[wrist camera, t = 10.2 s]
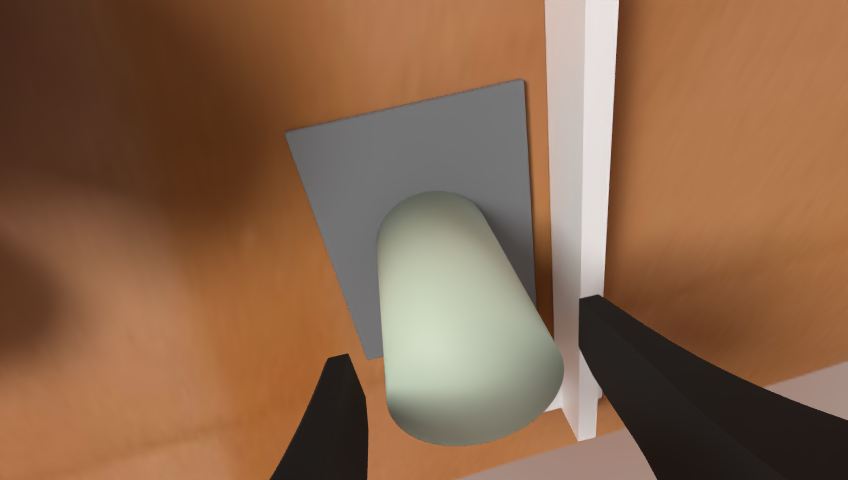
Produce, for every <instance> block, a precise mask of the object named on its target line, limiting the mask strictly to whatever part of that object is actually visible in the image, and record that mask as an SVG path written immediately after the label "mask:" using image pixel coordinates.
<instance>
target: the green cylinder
mask: <svg viewBox="0 0 848 480" xmlns="http://www.w3.org/2000/svg"><path fill="white" fill-rule="evenodd" d="M376 250H377V265H378V280H379V295H380V310H381V324H382V339H383V354H384V369H385V384H386V399H387V406H388V410H389V412H390V414H391V417H392V418H393V420H394V421H395V422H396V424H397V425H398V426H399V427H400V428H401V429H402V430H403V431H405V432H406V433H408V434H409V435H411V436H413V437H415V438H417V439H419V440H422V441H424V442H428V443H432V444H436V445H443V446H469V445H477V444H482V443H487V442H490V441H494V440H497V439H500V438H503V437H505V436H508V435H510V434H512V433H514V432H516V431H518V430H520V429H522V428H523V427H525V426H527V425H528V424H530V423H531V422H533V421H534V420H535V419H536V418H538V417H539V416H540V415H541V414H542V413H543V412H544V411H545V410H546V409H547V408H548V407H549V406H550V404H551V403H552V402H553V400H554V399H555V397H556V396H557V394H558V392H559V390H560V387H561V385H562V381H563V377H564V362H563V358H562V355H561V353H560V351H559V349H558V347H557V345H556V344H555V342H554V340H553V338H552V337H551V335H550V333H549V331H548V329H547V328H546V326H545V324H544V322H543V321H542V319H541V317H540V315H539V313H538V312H537V310H536V308H535V306H534V305H533V303H532V301H531V299H530V297H529V296H528V294H527V292H526V290H525V289H524V287H523V285H522V283H521V282H520V280H519V278H518V276H517V274H516V273H515V271H514V269H513V267H512V266H511V264H510V262H509V260H508V258H507V257H506V255H505V253H504V251H503V250H502V248H501V246H500V244H499V242H498V241H497V239H496V237H495V235H494V234H493V232H492V230H491V228H490V226H489V225H488V223H487V221H486V219H485V218H484V216H483V214H482V212H481V211H480V210H479V209H478V207H477V206H476V205H475V204H474V203H472V202H471V201H470V200H468V199H467V198H465V197H463V196H461V195H458V194H455V193H451V192H446V191H429V192H423V193H419V194H416V195H413V196H411V197H409V198H407V199H405V200H403V201H401V202H400V203H399V204H397V205H396V206H395V207H394V208H393V209H392V210H391V211H390V212H389V213H388V214H387V215H386V217H385V218H384V220H383V221H382V223H381V225H380V228H379V230H378V234H377V240H376Z"/></svg>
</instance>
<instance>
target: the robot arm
mask: <svg viewBox="0 0 848 480" xmlns="http://www.w3.org/2000/svg"><path fill="white" fill-rule="evenodd" d="M578 347H579V349H580V351H581V353H582V355H583V357H584V359H585V361H586V363H587V365H588V367H589V369H590V371H591V373H592V375H593V377H594V378H595V380H596V381H597V383H598V385H599V386H600V388H601V389H602V391H603V392H604V394H605V395H606V397H607V398H608V400H609V402H610V403H611V405H612V406H613V408H614V409H615V411H616V412H617V414H618V415H619V417H620V418H621V420H622V421H623V423H624V424H625V426H626V427H627V429H628V430H629V432H630V433H631V435H632V436H633V438H634V439H635V441H636V443H637V444H638V446H639V448H640V449H641V451H642V452H643V454H644V456H645V457H646V459H647V461H648V463H649V465H650V467H651V469H652V471H653V472H654V474H655V476H656V478H657V480H848V420H845V419H842V418H840V417H837V416H834V415H831V414H828V413H825V412H823V411H820V410H817V409H814V408H811V407H809V406H806V405H803V404H800V403H798V402H795V401H793V400H790V399H788V398H785V397H783V396H781V395H778V394H776V393H774V392H771V391H769V390H766V389H764V388H762V387H759V386H757V385H755V384H752V383H750V382H748V381H746V380H744V379H741V378H739V377H737V376H735V375H733V374H731V373H729V372H727V371H725V370H723V369H721V368H719V367H717V366H715V365H713V364H711V363H709V362H707V361H705V360H703V359H701V358H699V357H698V356H696V355H694V354H692V353H690V352H689V351H687V350H685V349H683V348H681V347H680V346H678V345H676V344H675V343H673V342H671V341H670V340H668V339H666V338H665V337H663V336H661V335H660V334H658V333H657V332H655V331H653V330H652V329H650V328H649V327H647V326H646V325H644V324H642V323H641V322H639V321H638V320H636V319H635V318H633V317H632V316H630V315H629V314H627V313H626V312H624V311H623V310H621V309H620V308H618V307H617V306H615V305H614V304H612V303H611V302H609V301H608V300H606V299H605V298H603V297H602V296H600V295H599V294H597V295H593V296H588V297H584V298H580V299H579V333H578ZM367 468H368V419H367V408H366V397H365V395H364V392H363V389H362V387H361V384H360V382H359V379H358V377H357V374H356V372H355V369H354V367H353V364H352V362H351V359H350V357H349V354H344V355H339V356H335V357H331V358H328V359H327V361H326V363H325V366H324V368H323V371H322V373H321V376H320V379H319V381H318V384H317V386H316V389H315V391H314V393H313V396H312V398H311V400H310V403H309V405H308V407H307V409H306V411H305V414H304V416H303V418H302V420H301V422H300V424H299V426H298V429H297V431H296V432H295V434H294V436H293V438H292V440H291V442H290V444H289V446H288V448H287V450H286V452H285V454H284V456H283V457H282V459H281V461H280V463H279V465H278V466H277V468H276V470H275V472H274V473H273V475H272V477H271V478H270V480H367Z"/></svg>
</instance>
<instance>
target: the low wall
mask: <svg viewBox="0 0 848 480" xmlns="http://www.w3.org/2000/svg"><path fill="white" fill-rule="evenodd" d="M618 8H619V0H545V27H546V62H547V98H548V134H549V170H550V206H551V242H552V278H553V313H554V342H555V344H556V345H557V347H558V349H559V351H560V353H561V355H562V358H563V362H564V377H563V381H562V385H561V387H560V390H559V392H558V394H557V396H556V397H555V399H554V400H553V402H552V403H551V404H550V406H549V407H548V408H547V409H546V410H545V411H544V412H546V411H550V410H554V409H558V408H562V410H563V412H564V414H565V416H566V418H567V420H568V422H569V424H570V426H571V428H572V430H573V432H574V434H575V436H576V438H577V440H578V441H582V440H586V439H590V438H594V437H596V421H597V403H598V399H599V398H602V389H601V388H600V386H599V385H598V383H597V381H596V380H595V378H594V377H593V375H592V373H591V371H590V369H589V367H588V365H587V363H586V361H585V359H584V357H583V355H582V353H581V351H580V349H579V347H578V333H579V299H580V298H584V297H588V296H593V295H597V294H599V295H600V296H602V297H603V290H604V271H605V252H606V233H607V215H608V196H609V177H610V158H611V140H612V121H613V102H614V83H615V64H616V46H617V27H618Z"/></svg>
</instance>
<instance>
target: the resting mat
mask: <svg viewBox="0 0 848 480" xmlns="http://www.w3.org/2000/svg"><path fill="white" fill-rule="evenodd" d="M285 137H286V139H287V142H288V145H289V148H290V150H291V153H292V156H293V159H294V161H295V164H296V167H297V169H298V172H299V175H300V178H301V180H302V183H303V186H304V189H305V191H306V194H307V197H308V199H309V202H310V205H311V208H312V210H313V213H314V216H315V219H316V221H317V224H318V227H319V229H320V232H321V235H322V238H323V240H324V243H325V246H326V249H327V251H328V254H329V257H330V260H331V262H332V265H333V268H334V270H335V273H336V276H337V279H338V281H339V284H340V287H341V290H342V292H343V295H344V298H345V300H346V303H347V306H348V309H349V311H350V314H351V317H352V320H353V322H354V325H355V328H356V331H357V333H358V336H359V339H360V341H361V344H362V347H363V350H364V352H365V355H366V358H367V360H371V359H375V358H379V357H383V356H384V354H383V339H382V324H381V310H380V295H379V280H378V265H377V250H376V240H377V234H378V230H379V228H380V225H381V223H382V221H383V220H384V218H385V217H386V215H387V214H388V213H389V212H390V211H391V210H392V209H393V208H394V207H395V206H396V205H397V204H399V203H400V202H401V201H403V200H405V199H407V198H409V197H411V196H413V195H416V194H419V193H423V192H429V191H446V192H451V193H455V194H458V195H461V196H463V197H465V198H467V199H468V200H470V201H471V202H472V203H474V204H475V205H476V206H477V207H478V209H479V210H480V211H481V212H482V214H483V216H484V218H485V219H486V221H487V223H488V225H489V226H490V228H491V230H492V232H493V234H494V235H495V237H496V239H497V241H498V242H499V244H500V246H501V248H502V250H503V251H504V253H505V255H506V257H507V258H508V260H509V262H510V264H511V266H512V267H513V269H514V271H515V273H516V274H517V276H518V278H519V280H520V282H521V283H522V285H523V287H524V289H525V290H526V292H527V294H528V296H529V297H530V299H531V301H532V303H533V305H534V306H535V308H536V290H535V272H534V254H533V236H532V218H531V200H530V182H529V164H528V146H527V128H526V110H525V92H524V80H523V79H516V80H512V81H508V82H503V83H499V84H494V85H490V86H485V87H481V88H476V89H472V90H467V91H463V92H459V93H454V94H450V95H445V96H441V97H436V98H432V99H427V100H423V101H419V102H414V103H410V104H405V105H401V106H396V107H392V108H387V109H383V110H379V111H374V112H370V113H365V114H361V115H356V116H352V117H347V118H343V119H339V120H334V121H330V122H325V123H321V124H316V125H312V126H307V127H303V128H298V129H294V130H290V131H286V132H285ZM536 310H537V308H536Z"/></svg>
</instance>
